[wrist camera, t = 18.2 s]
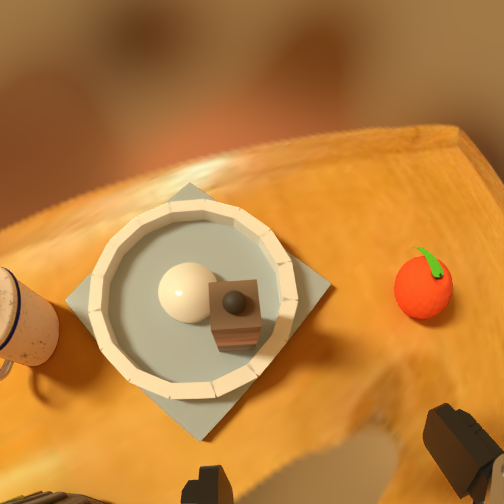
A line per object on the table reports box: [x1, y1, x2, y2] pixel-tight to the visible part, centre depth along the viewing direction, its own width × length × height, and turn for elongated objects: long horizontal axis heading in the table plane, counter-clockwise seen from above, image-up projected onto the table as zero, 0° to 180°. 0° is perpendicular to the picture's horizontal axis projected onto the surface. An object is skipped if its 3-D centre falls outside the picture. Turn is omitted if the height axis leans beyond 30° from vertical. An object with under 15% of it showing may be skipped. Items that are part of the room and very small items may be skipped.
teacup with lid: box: [0, 267, 59, 381], centre depth 23 cm, size 12×9×12 cm
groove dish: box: [65, 183, 331, 442], centre depth 30 cm, size 21×21×3 cm
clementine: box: [394, 247, 453, 319], centre depth 30 cm, size 8×7×7 cm
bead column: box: [208, 279, 262, 352], centre depth 24 cm, size 3×3×11 cm
